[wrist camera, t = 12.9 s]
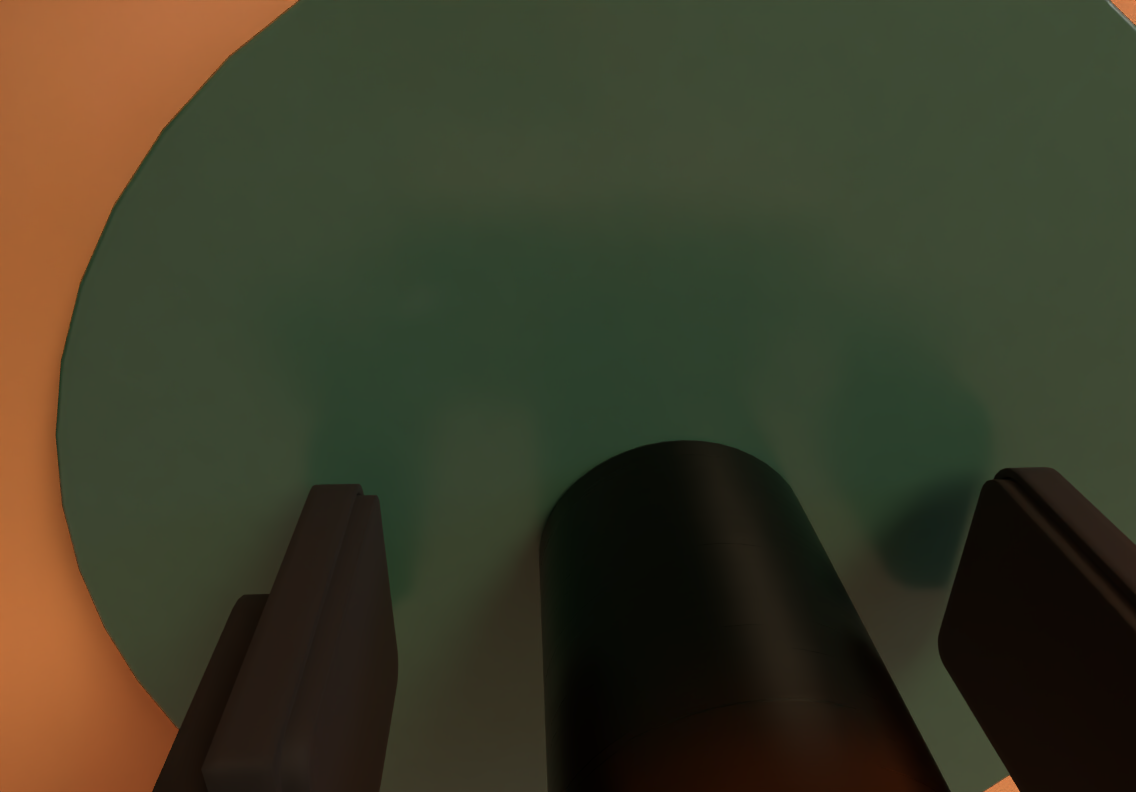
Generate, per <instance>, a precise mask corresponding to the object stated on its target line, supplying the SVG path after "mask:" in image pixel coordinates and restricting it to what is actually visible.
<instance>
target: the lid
mask: <svg viewBox="0 0 1136 792" xmlns="http://www.w3.org/2000/svg"><path fill="white" fill-rule="evenodd" d="M56 445H57V455H58V466H59V477H60V487H61V498H62V506H63V510H64V514H65V518H66V522H67V525H68V529H69V533H70V537H71V541H72V544H73V548H74V552H75V556H76V560H77V564H78V567H79V570H80V573H81V575H82V577H83V580H84V582H85V584H86V586H87V589H88V591H89V593H90V596H91V598H92V600H93V603H94V605H95V607H96V609H97V612H98V614H99V616H100V619H101V621H102V623H103V626H104V628H105V629H106V631H107V633H108V634H109V636H110V637H111V639H112V641H113V642H114V644H115V645H116V647H117V649H118V650H119V652H120V653H121V655H122V657H123V658H124V660H125V662H126V663H127V665H128V666H129V668H130V670H131V671H132V673H133V674H134V676H135V678H136V679H137V681H138V682H139V683H140V684H141V685H142V687H143V688H144V689H145V690H146V691H147V693H148V694H149V695H150V696H151V697H152V699H153V700H154V701H155V702H156V703H157V705H158V706H159V707H160V708H161V710H162V711H163V712H164V713H165V714H166V716H167V717H168V718H169V719H170V720H171V722H172V723H173V724H174V725H175V726H176V727H177V728H178V729H180V727H181V725H182V722H183V720H184V718H185V716H186V713H187V711H188V709H189V706H190V704H191V702H192V700H193V697H194V695H195V693H196V691H197V688H198V686H199V684H200V681H201V679H202V677H203V675H204V672H205V670H206V668H207V665H208V663H209V661H210V659H211V656H212V654H213V652H214V649H215V647H216V645H217V643H218V640H219V638H220V636H221V633H222V631H223V629H224V627H225V624H226V622H227V620H228V618H229V615H230V613H231V611H232V609H233V607H234V605H235V603H236V602H237V600H238V599H239V598H240V597H241V596H243V595H248V594H270V592H271V589H272V586H273V584H274V581H275V579H276V576H277V574H278V571H279V568H280V566H281V563H282V561H283V558H284V556H285V553H286V551H287V548H288V545H289V543H290V540H291V538H292V535H293V533H294V530H295V527H296V525H297V522H298V520H299V517H300V515H301V512H302V510H303V507H304V504H305V502H306V499H307V497H308V494H309V492H310V490H311V488H312V486H314V485H323V484H360V485H361V487H362V489H363V493H364V495H377V496H378V499H379V503H380V510H381V518H382V526H383V535H384V543H385V551H386V559H387V567H388V576H389V584H390V592H391V600H392V609H393V617H394V625H395V633H396V641H397V650H398V682H397V689H396V695H395V701H394V707H393V713H392V719H391V725H390V731H389V737H388V743H387V749H386V755H385V761H384V768H383V774H382V780H381V786H380V792H984V791H985V790H987V789H989V788H990V787H992V786H993V785H995V784H997V783H998V782H1000V781H1001V780H1003V779H1004V778H1006V777H1008V776H1009V775H1010V774H1009V772H1008V771H1007V769H1006V767H1005V766H1004V764H1003V763H1002V761H1001V759H1000V758H999V756H998V754H997V753H996V751H995V749H994V748H993V746H992V744H991V743H990V741H989V739H988V738H987V736H986V734H985V733H984V731H983V730H982V728H981V726H980V725H979V723H978V721H977V720H976V718H975V716H974V715H973V713H972V711H971V710H970V708H969V706H968V705H967V703H966V701H965V700H964V698H963V696H962V695H961V693H960V692H959V690H958V688H957V687H956V685H955V683H954V682H953V680H952V678H951V677H950V675H949V673H948V672H947V670H946V668H945V667H944V665H943V663H942V661H941V658H940V655H939V650H938V635H939V631H940V627H941V624H942V620H943V617H944V614H945V610H946V607H947V604H948V600H949V597H950V593H951V590H952V587H953V583H954V580H955V576H956V573H957V570H958V566H959V563H960V559H961V556H962V553H963V549H964V546H965V542H966V539H967V536H968V532H969V529H970V525H971V522H972V519H973V515H974V512H975V508H976V505H977V502H978V498H979V495H980V491H981V489H982V487H983V485H984V483H985V482H986V481H988V480H993V479H994V477H995V475H996V474H997V473H998V472H999V471H1000V470H1001V469H1004V468H1024V467H1049V468H1053V469H1055V470H1056V471H1058V472H1059V473H1060V474H1061V475H1062V476H1063V477H1064V478H1065V479H1066V480H1067V481H1069V482H1070V483H1071V484H1072V485H1073V486H1074V487H1075V488H1076V489H1077V490H1078V491H1079V492H1080V493H1081V494H1082V495H1083V496H1084V497H1085V498H1087V499H1088V500H1089V501H1090V502H1091V503H1092V504H1093V505H1094V506H1095V507H1096V508H1097V509H1098V510H1099V511H1100V512H1101V513H1102V514H1103V515H1105V516H1106V517H1107V518H1108V519H1109V520H1110V521H1111V522H1112V523H1113V524H1114V525H1115V526H1116V527H1117V528H1118V529H1119V530H1120V531H1121V532H1122V533H1124V534H1125V535H1126V536H1127V537H1128V538H1129V539H1130V540H1131V541H1132V542H1133V543H1134V544H1135V545H1136V25H1135V24H1134V23H1133V22H1132V21H1131V20H1130V19H1129V18H1128V17H1127V16H1126V15H1125V14H1124V13H1123V12H1121V11H1120V10H1119V9H1118V8H1117V7H1116V6H1115V5H1114V4H1113V3H1112V2H1111V1H1110V0H298V1H297V2H296V3H295V4H293V5H292V6H291V7H290V8H288V9H287V10H286V11H285V12H283V13H282V14H281V15H280V16H278V17H277V18H276V19H275V20H273V21H272V22H271V23H270V24H268V25H267V26H266V27H265V28H263V29H262V30H261V31H260V32H258V33H257V34H256V35H255V36H253V37H252V38H251V39H250V40H249V41H247V42H246V43H245V44H244V45H242V46H241V47H240V48H239V49H237V50H236V51H235V52H234V53H232V54H231V55H230V56H229V57H228V58H227V59H226V60H225V61H224V62H223V63H222V64H221V65H220V67H219V68H218V69H217V70H216V71H215V72H214V73H213V74H212V75H211V76H210V78H209V79H208V80H207V81H206V82H205V83H204V84H203V85H202V86H201V87H200V89H199V90H198V91H197V92H196V93H195V94H194V95H193V96H192V97H191V99H190V100H189V101H188V102H187V103H186V104H185V105H184V106H183V107H182V108H181V110H180V111H179V112H178V113H177V114H176V115H175V116H174V117H173V118H172V119H171V121H170V122H169V123H168V124H167V125H166V126H165V127H164V128H163V130H162V131H161V133H160V134H159V136H158V137H157V139H156V141H155V142H154V144H153V145H152V147H151V148H150V150H149V151H148V153H147V154H146V156H145V158H144V159H143V161H142V162H141V164H140V165H139V167H138V168H137V170H136V171H135V173H134V175H133V176H132V178H131V179H130V181H129V182H128V184H127V185H126V187H125V188H124V190H123V191H122V193H121V195H120V196H119V198H118V199H117V201H116V202H115V204H114V206H113V208H112V210H111V213H110V215H109V217H108V219H107V222H106V224H105V226H104V229H103V231H102V233H101V236H100V238H99V240H98V243H97V245H96V247H95V249H94V252H93V254H92V256H91V259H90V261H89V263H88V266H87V268H86V270H85V272H84V275H83V277H82V279H81V282H80V285H79V289H78V293H77V297H76V301H75V305H74V309H73V313H72V317H71V322H70V326H69V330H68V334H67V338H66V342H65V346H64V350H63V354H62V358H61V368H60V382H59V396H58V409H57V423H56Z"/></svg>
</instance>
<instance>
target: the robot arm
mask: <svg viewBox="0 0 1136 792" xmlns="http://www.w3.org/2000/svg"><path fill="white" fill-rule="evenodd" d="M938 650H939V655H940V658H941V661H942V663H943V665H944V667H945V668H946V670H947V672H948V673H949V675H950V677H951V678H952V680H953V682H954V683H955V685H956V687H957V688H958V690H959V692H960V693H961V695H962V696H963V698H964V700H965V701H966V703H967V705H968V706H969V708H970V710H971V711H972V713H973V715H974V716H975V718H976V720H977V721H978V723H979V725H980V726H981V728H982V730H983V731H984V733H985V734H986V736H987V738H988V739H989V741H990V743H991V744H992V746H993V748H994V749H995V751H996V753H997V754H998V756H999V758H1000V759H1001V761H1002V763H1003V764H1004V766H1005V767H1006V769H1007V771H1008V772H1009V774H1010V776H1011V777H1012V779H1013V781H1014V782H1015V784H1016V786H1017V787H1018V789H1019V791H1020V792H1136V545H1135V544H1134V543H1133V542H1132V541H1131V540H1130V539H1129V538H1128V537H1127V536H1126V535H1125V534H1124V533H1122V532H1121V531H1120V530H1119V529H1118V528H1117V527H1116V526H1115V525H1114V524H1113V523H1112V522H1111V521H1110V520H1109V519H1108V518H1107V517H1106V516H1105V515H1103V514H1102V513H1101V512H1100V511H1099V510H1098V509H1097V508H1096V507H1095V506H1094V505H1093V504H1092V503H1091V502H1090V501H1089V500H1088V499H1087V498H1085V497H1084V496H1083V495H1082V494H1081V493H1080V492H1079V491H1078V490H1077V489H1076V488H1075V487H1074V486H1073V485H1072V484H1071V483H1070V482H1069V481H1067V480H1066V479H1065V478H1064V477H1063V476H1062V475H1061V474H1060V473H1059V472H1058V471H1056V470H1055V469H1053V468H1049V467H1024V468H1004V469H1001V470H1000V471H999V472H998V473H997V474H996V475H995V477H994V479H993V480H988V481H986V482H985V483H984V485H983V487H982V489H981V491H980V495H979V498H978V502H977V505H976V508H975V512H974V515H973V519H972V522H971V525H970V529H969V532H968V536H967V539H966V542H965V546H964V549H963V553H962V556H961V559H960V563H959V566H958V570H957V573H956V576H955V580H954V583H953V587H952V590H951V593H950V597H949V600H948V604H947V607H946V610H945V614H944V617H943V620H942V624H941V627H940V631H939V635H938ZM397 682H398V650H397V641H396V633H395V625H394V617H393V609H392V600H391V592H390V584H389V576H388V567H387V559H386V551H385V543H384V535H383V526H382V518H381V510H380V503H379V499H378V496H377V495H364V493H363V489H362V487H361V485H360V484H323V485H314V486H312V488H311V490H310V492H309V494H308V497H307V499H306V502H305V504H304V507H303V510H302V512H301V515H300V517H299V520H298V522H297V525H296V527H295V530H294V533H293V535H292V538H291V540H290V543H289V545H288V548H287V551H286V553H285V556H284V558H283V561H282V563H281V566H280V568H279V571H278V574H277V576H276V579H275V581H274V584H273V586H272V589H271V592H270V594H248V595H243V596H241V597H240V598H239V599H238V600H237V602H236V603H235V605H234V607H233V609H232V611H231V613H230V615H229V618H228V620H227V622H226V624H225V627H224V629H223V631H222V633H221V636H220V638H219V640H218V643H217V645H216V647H215V649H214V652H213V654H212V656H211V659H210V661H209V663H208V665H207V668H206V670H205V672H204V675H203V677H202V679H201V681H200V684H199V686H198V688H197V691H196V693H195V695H194V697H193V700H192V702H191V704H190V706H189V709H188V711H187V713H186V716H185V718H184V720H183V722H182V725H181V727H180V729H179V732H178V734H177V736H176V738H175V741H174V743H173V745H172V748H171V750H170V752H169V754H168V757H167V759H166V761H165V764H164V766H163V768H162V770H161V773H160V775H159V777H158V779H157V782H156V784H155V786H154V789H153V791H152V792H380V786H381V780H382V774H383V768H384V761H385V755H386V749H387V743H388V737H389V731H390V725H391V719H392V713H393V707H394V701H395V695H396V689H397Z"/></svg>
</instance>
